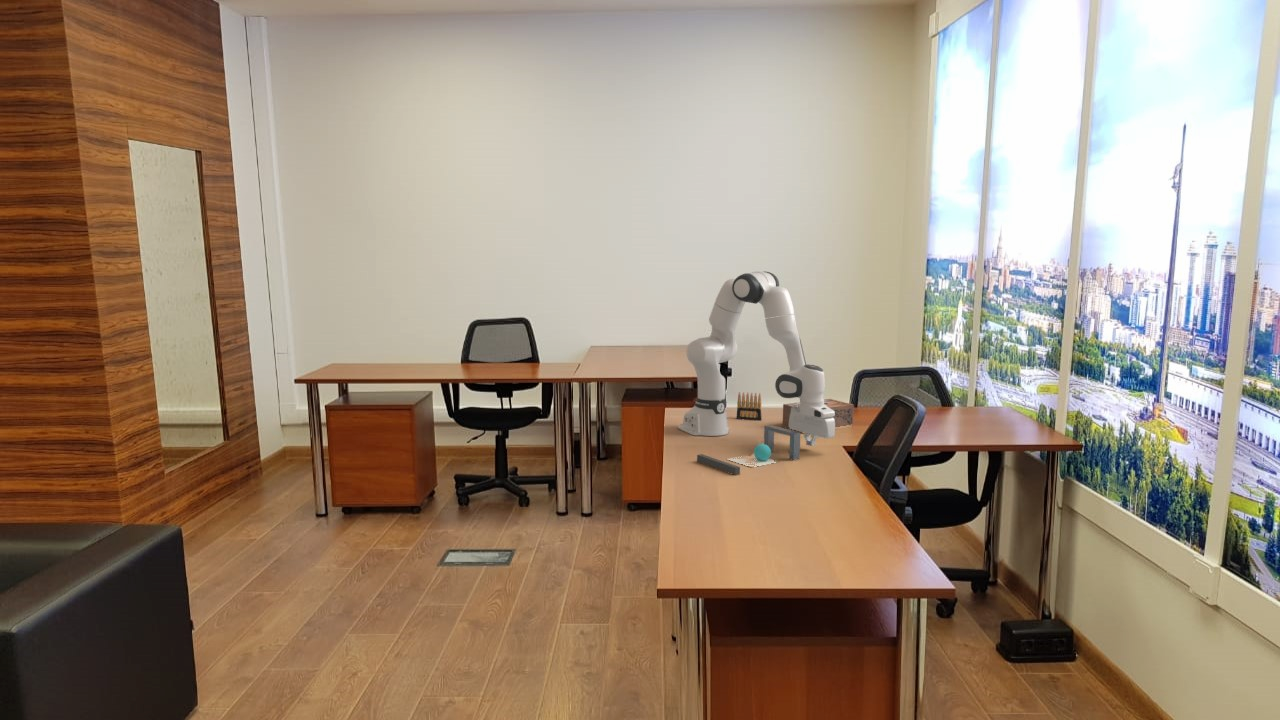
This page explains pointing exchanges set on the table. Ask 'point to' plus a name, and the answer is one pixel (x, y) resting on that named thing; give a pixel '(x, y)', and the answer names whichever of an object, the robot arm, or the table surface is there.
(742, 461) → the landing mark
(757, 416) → the ammunition clip
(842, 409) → the tissue box cover
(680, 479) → the table surface
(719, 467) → the stopper
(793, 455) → the bridge
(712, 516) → the table surface
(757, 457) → the ball
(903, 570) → the table surface
